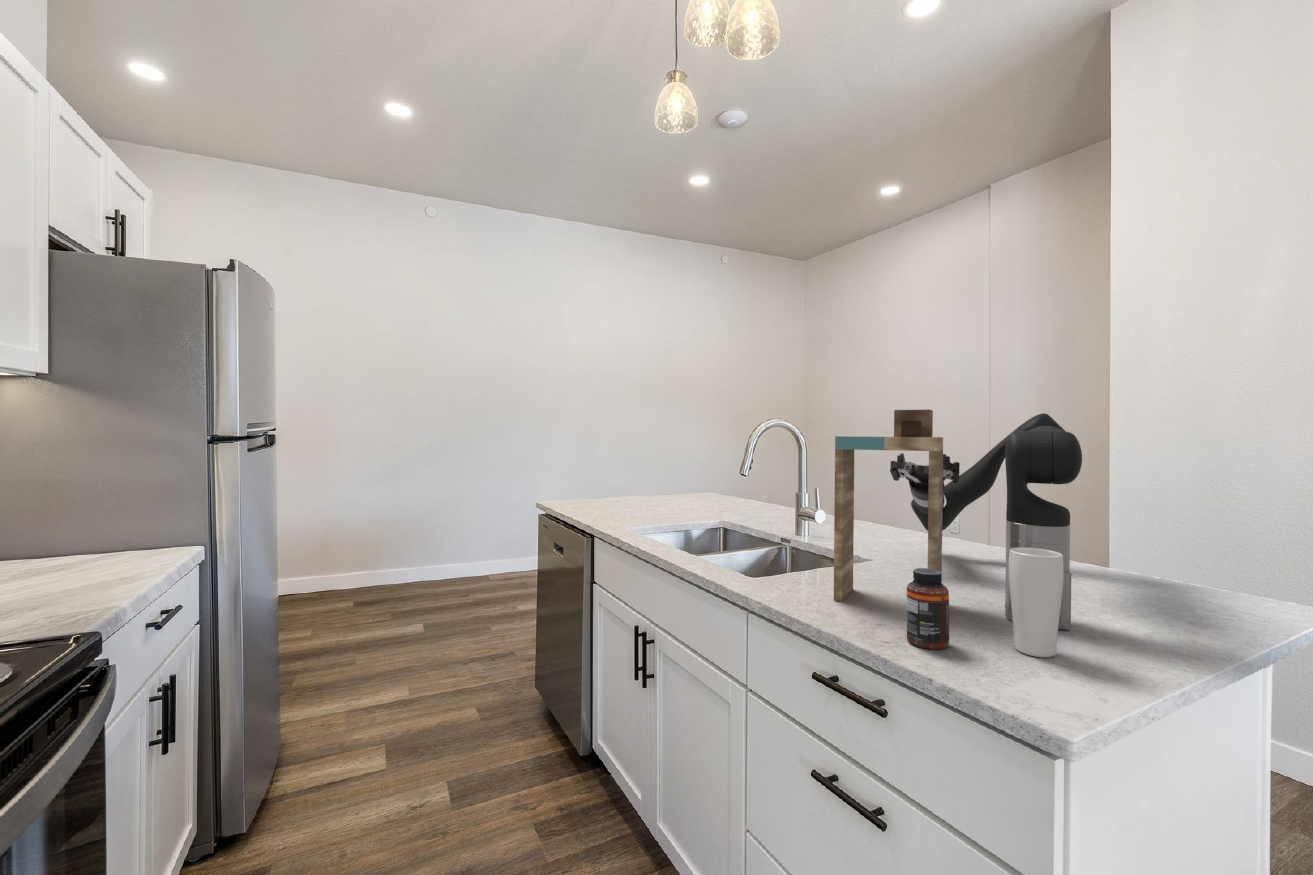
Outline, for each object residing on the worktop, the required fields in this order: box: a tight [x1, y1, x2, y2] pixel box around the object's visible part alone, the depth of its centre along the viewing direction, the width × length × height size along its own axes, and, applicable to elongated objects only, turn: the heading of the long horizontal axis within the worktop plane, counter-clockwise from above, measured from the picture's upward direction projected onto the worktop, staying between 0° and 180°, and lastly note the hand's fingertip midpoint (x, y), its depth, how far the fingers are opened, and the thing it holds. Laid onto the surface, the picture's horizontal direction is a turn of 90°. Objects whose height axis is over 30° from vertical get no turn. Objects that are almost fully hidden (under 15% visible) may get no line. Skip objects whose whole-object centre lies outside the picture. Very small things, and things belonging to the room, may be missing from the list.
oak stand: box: [833, 435, 944, 602], centre depth 108 cm, size 18×10×32 cm, turn 58°
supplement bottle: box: [906, 567, 950, 650], centre depth 86 cm, size 6×6×11 cm
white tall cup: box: [1009, 548, 1064, 659], centre depth 83 cm, size 7×7×15 cm
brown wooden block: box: [893, 409, 934, 437], centre depth 109 cm, size 6×18×5 cm, turn 148°
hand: (922, 457), depth 123 cm, fingers open, 8 cm apart
